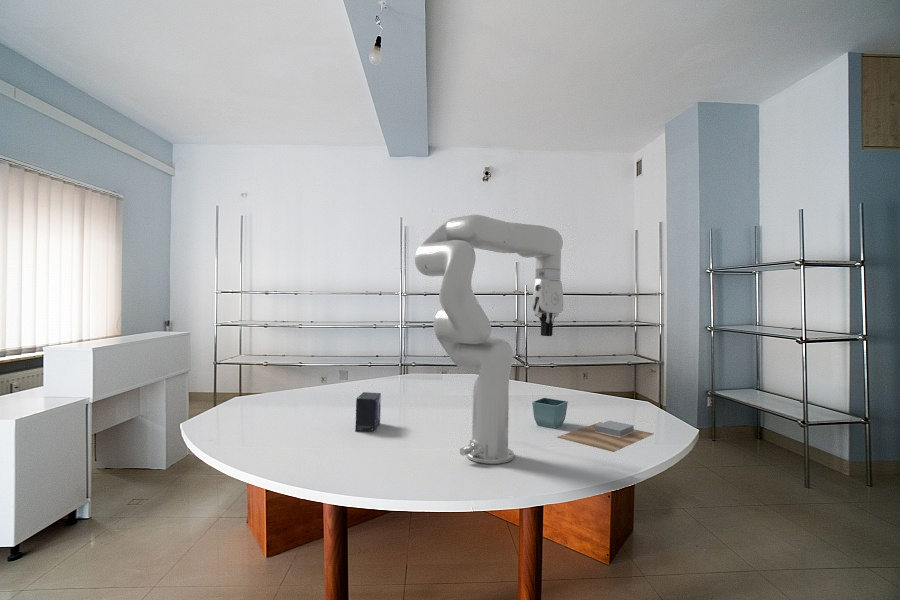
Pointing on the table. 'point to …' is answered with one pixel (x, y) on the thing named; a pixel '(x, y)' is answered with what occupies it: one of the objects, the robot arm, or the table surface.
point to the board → (603, 438)
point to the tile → (614, 428)
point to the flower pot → (549, 412)
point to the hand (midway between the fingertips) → (546, 335)
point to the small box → (368, 411)
